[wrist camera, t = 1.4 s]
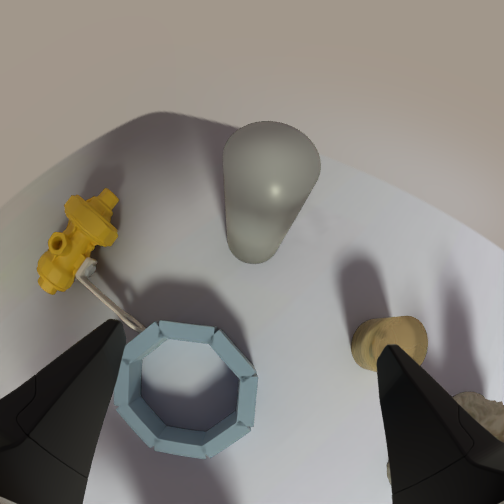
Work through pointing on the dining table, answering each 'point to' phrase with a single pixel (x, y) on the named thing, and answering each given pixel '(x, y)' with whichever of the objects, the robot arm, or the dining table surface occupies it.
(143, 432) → the collar
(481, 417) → the jagged beige rock
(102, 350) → the robot arm
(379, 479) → the dining table surface
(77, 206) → the pressure relief valve
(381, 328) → the short brass cylinder
